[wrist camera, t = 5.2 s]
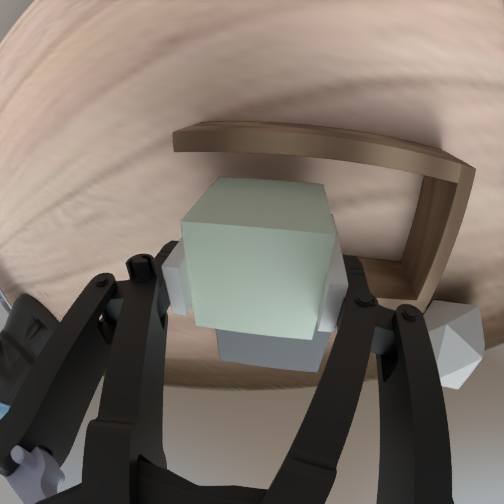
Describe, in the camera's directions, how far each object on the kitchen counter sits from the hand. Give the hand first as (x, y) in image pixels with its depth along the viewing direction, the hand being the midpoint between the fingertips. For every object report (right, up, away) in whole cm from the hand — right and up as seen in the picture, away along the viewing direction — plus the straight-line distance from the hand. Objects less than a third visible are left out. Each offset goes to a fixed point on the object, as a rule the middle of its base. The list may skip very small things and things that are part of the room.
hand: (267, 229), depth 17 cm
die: (+19, -8, +7) cm, 22 cm away
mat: (+1, -10, +12) cm, 16 cm away
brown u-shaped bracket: (+4, +2, +3) cm, 6 cm away
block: (0, 0, 0) cm, 0 cm away
